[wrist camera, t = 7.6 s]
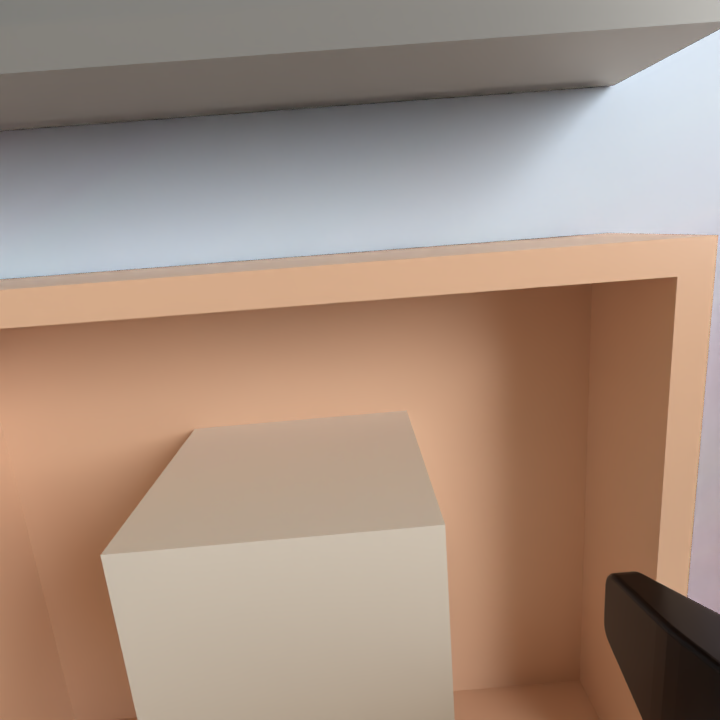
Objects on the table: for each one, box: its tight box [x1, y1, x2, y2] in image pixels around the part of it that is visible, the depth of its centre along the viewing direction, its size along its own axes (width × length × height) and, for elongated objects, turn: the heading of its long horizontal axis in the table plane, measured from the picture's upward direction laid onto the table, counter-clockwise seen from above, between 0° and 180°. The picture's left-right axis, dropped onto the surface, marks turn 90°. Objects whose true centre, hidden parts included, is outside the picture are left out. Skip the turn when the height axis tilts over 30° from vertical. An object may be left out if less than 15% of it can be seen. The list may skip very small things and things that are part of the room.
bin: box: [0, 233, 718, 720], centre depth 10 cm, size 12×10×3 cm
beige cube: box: [100, 410, 455, 720], centre depth 9 cm, size 4×4×4 cm
